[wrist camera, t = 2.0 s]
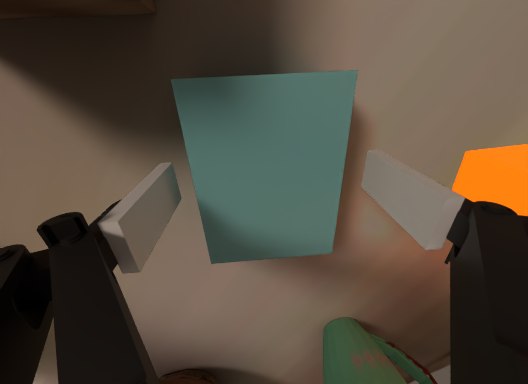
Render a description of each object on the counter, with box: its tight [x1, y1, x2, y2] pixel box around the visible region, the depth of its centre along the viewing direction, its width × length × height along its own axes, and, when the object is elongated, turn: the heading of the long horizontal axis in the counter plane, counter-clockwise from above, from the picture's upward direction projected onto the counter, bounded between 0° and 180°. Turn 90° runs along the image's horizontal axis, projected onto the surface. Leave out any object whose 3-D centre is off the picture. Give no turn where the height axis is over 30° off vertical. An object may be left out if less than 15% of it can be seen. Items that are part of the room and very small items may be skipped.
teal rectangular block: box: [171, 70, 358, 264], centre depth 15 cm, size 12×9×5 cm
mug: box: [323, 318, 437, 384], centre depth 26 cm, size 15×10×10 cm
